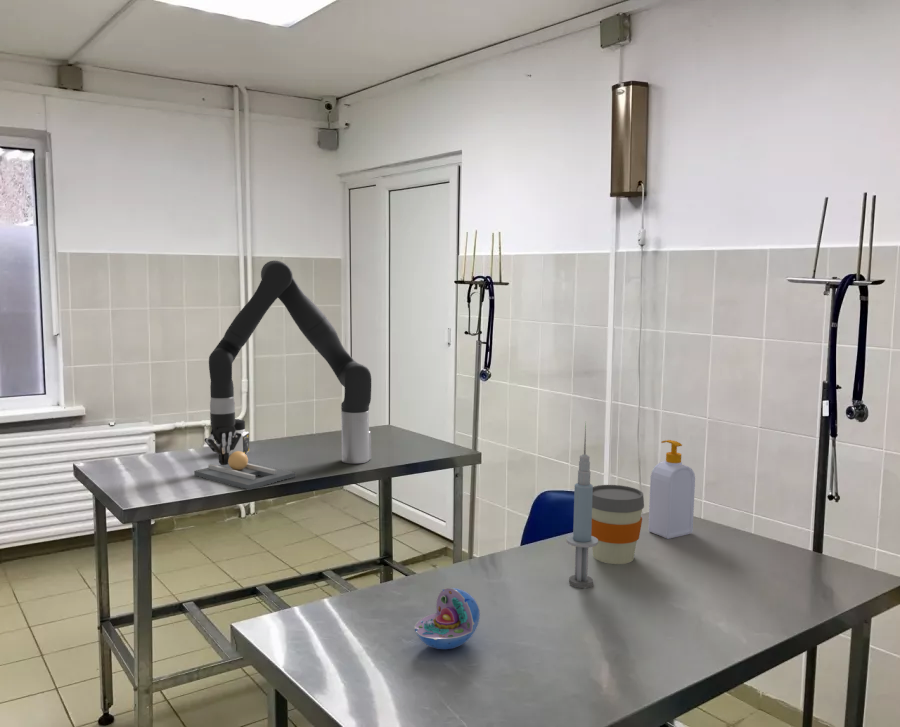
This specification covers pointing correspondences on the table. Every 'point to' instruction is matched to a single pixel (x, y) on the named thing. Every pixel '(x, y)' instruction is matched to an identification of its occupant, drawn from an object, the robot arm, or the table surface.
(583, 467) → the syringe
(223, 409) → the robot arm
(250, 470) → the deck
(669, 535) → the soap bottle
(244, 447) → the medicine bottle
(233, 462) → the ball
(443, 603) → the cell model
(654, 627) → the table surface
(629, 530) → the reusable coffee cup
